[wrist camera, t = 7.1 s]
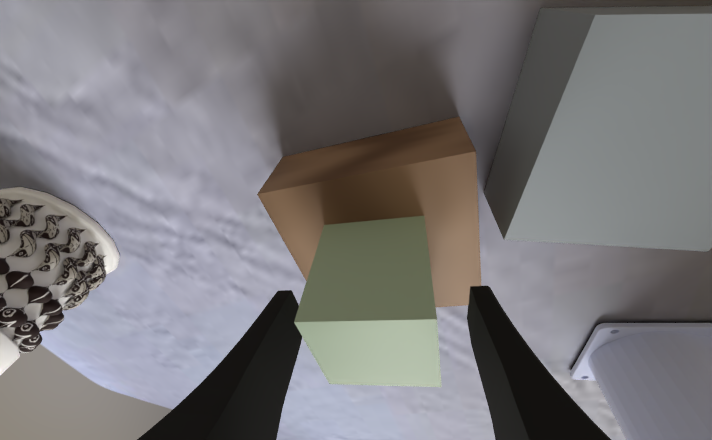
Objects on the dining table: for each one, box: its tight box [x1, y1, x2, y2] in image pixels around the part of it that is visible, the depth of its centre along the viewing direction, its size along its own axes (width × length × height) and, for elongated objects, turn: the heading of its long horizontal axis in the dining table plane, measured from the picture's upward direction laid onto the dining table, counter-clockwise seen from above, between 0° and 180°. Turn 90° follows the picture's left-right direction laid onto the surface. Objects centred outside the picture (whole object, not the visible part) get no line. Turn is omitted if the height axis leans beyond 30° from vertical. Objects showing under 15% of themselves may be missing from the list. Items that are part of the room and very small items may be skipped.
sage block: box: [294, 216, 441, 387], centre depth 12 cm, size 4×4×5 cm
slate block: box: [484, 6, 712, 252], centre depth 11 cm, size 8×8×4 cm
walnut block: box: [257, 117, 481, 307], centre depth 16 cm, size 9×9×4 cm
